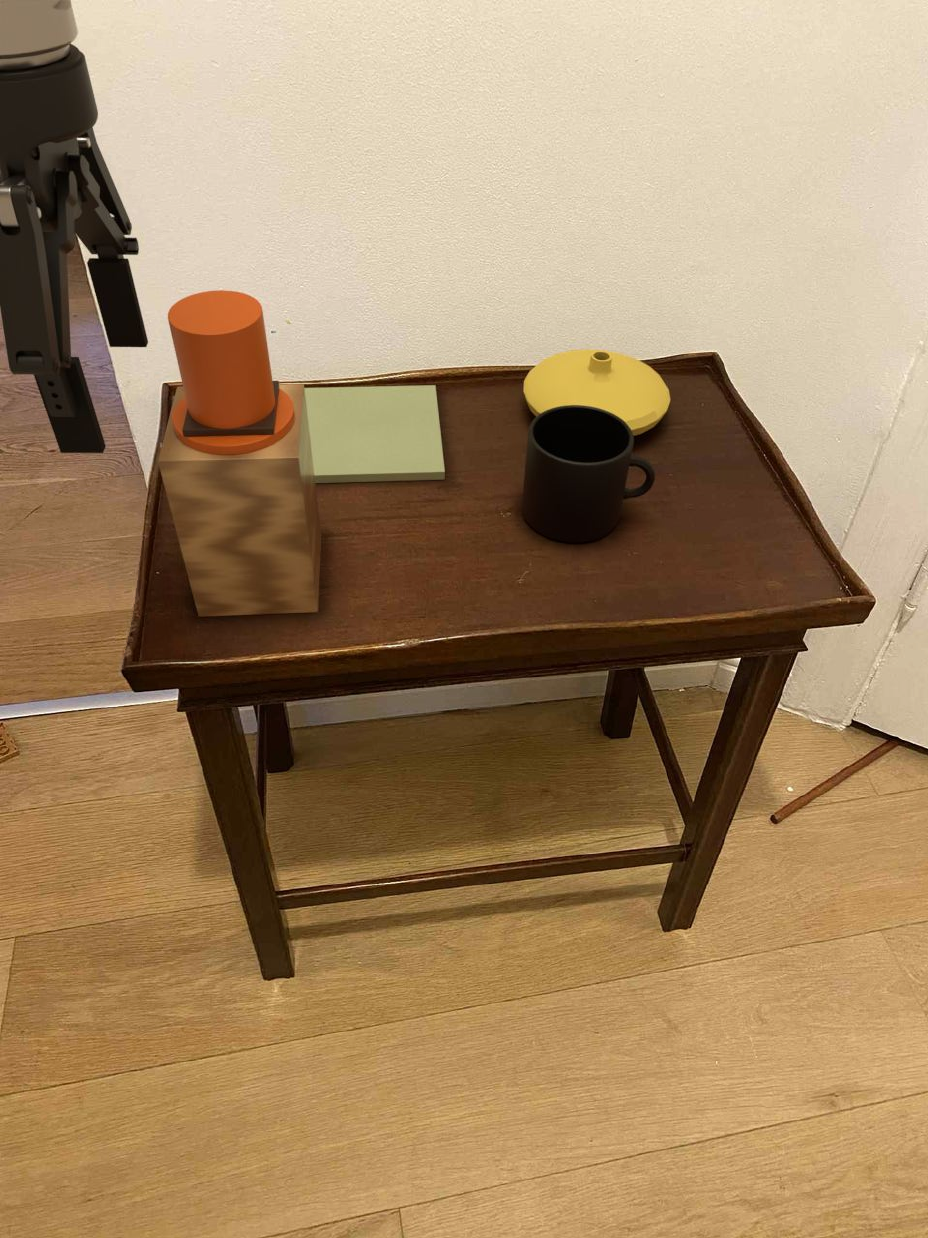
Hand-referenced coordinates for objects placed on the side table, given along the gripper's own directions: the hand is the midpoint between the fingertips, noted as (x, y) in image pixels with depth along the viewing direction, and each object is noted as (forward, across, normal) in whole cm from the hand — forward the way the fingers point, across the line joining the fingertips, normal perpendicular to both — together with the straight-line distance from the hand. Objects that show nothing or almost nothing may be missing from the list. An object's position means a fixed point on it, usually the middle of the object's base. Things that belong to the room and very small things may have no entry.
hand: (108, 393), depth 64 cm
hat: (+4, +2, -8) cm, 9 cm away
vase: (+20, +28, -41) cm, 53 cm away
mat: (+20, +24, -15) cm, 35 cm away
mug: (+20, +11, -38) cm, 44 cm away
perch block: (+20, +3, -8) cm, 22 cm away
